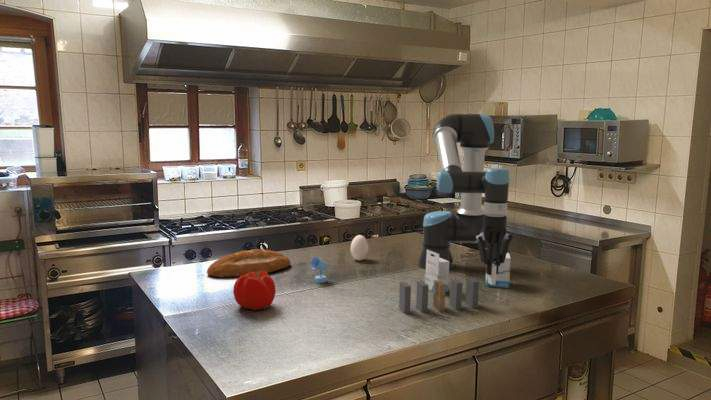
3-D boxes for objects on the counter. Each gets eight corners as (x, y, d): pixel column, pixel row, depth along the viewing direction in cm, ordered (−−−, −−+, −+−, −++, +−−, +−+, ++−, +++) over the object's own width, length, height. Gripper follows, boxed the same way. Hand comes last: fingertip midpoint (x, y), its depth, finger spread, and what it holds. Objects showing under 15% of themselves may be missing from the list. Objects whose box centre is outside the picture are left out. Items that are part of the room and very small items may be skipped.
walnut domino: (432, 305, 175) (433, 280, 174) (438, 305, 176) (439, 279, 174) (439, 311, 170) (440, 284, 169) (444, 310, 171) (445, 284, 170)
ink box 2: (509, 288, 196) (511, 257, 194) (486, 286, 197) (487, 256, 196) (507, 281, 204) (509, 252, 202) (485, 279, 206) (486, 251, 204)
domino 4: (465, 303, 178) (466, 277, 177) (470, 302, 179) (472, 277, 178) (472, 308, 174) (473, 282, 172) (477, 307, 174) (479, 281, 173)
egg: (371, 259, 233) (372, 234, 231) (362, 263, 226) (362, 237, 225) (356, 257, 237) (356, 232, 236) (346, 260, 231) (347, 235, 229)
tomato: (257, 317, 162) (256, 281, 161) (224, 308, 170) (223, 273, 168) (284, 305, 174) (284, 271, 172) (253, 297, 181) (252, 264, 179)
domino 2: (416, 307, 174) (417, 281, 173) (421, 306, 174) (422, 280, 173) (421, 312, 169) (422, 285, 168) (427, 312, 170) (428, 285, 168)
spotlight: (317, 284, 196) (330, 281, 201) (317, 258, 195) (331, 255, 199) (308, 281, 200) (322, 278, 204) (308, 256, 198) (322, 253, 203)
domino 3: (449, 304, 177) (450, 278, 176) (454, 304, 177) (455, 278, 176) (455, 309, 172) (456, 283, 171) (461, 309, 173) (462, 282, 171)
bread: (201, 271, 212) (200, 250, 211) (282, 261, 230) (282, 241, 228) (213, 283, 197) (212, 260, 196) (299, 271, 215) (299, 250, 213)
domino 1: (399, 308, 172) (399, 282, 171) (404, 308, 173) (405, 281, 172) (404, 313, 168) (405, 286, 166) (410, 313, 168) (410, 286, 167)
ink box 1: (448, 292, 190) (450, 253, 187) (437, 294, 187) (439, 254, 185) (435, 285, 197) (437, 247, 195) (424, 287, 195) (425, 249, 193)
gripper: (482, 217, 168) (479, 288, 171) (518, 216, 172) (514, 285, 175) (472, 213, 175) (468, 281, 179) (506, 212, 179) (502, 279, 182)
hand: (491, 283), depth 177 cm, fingers closed
